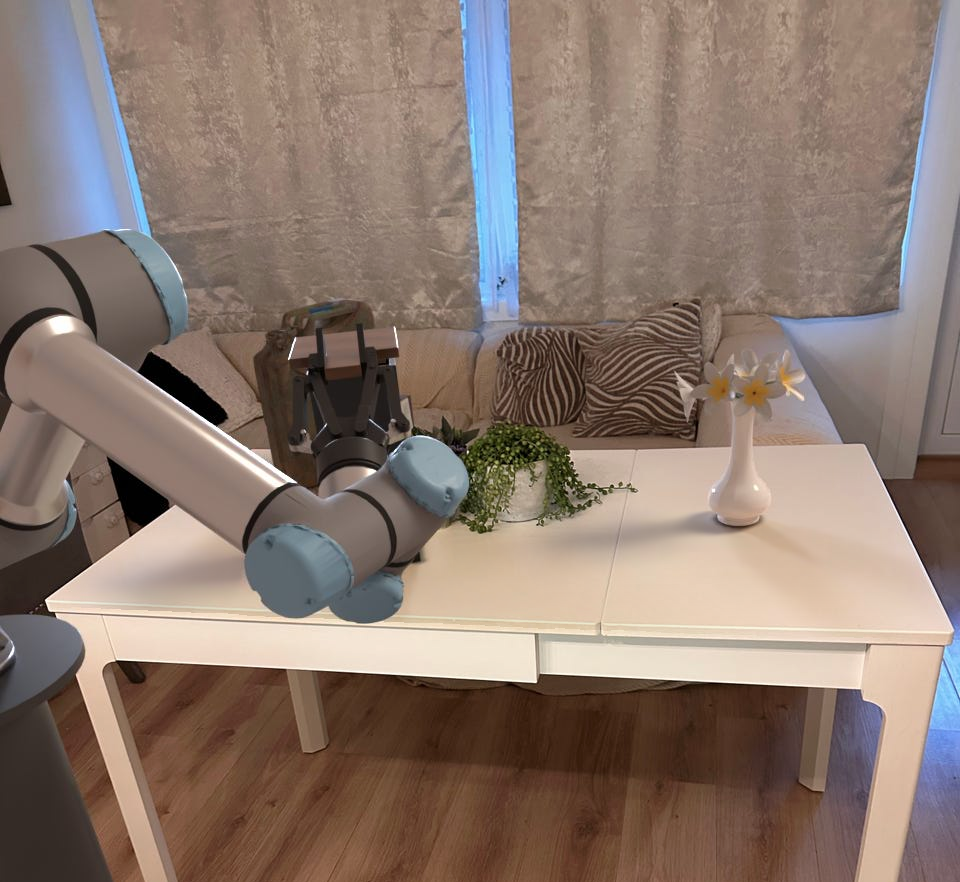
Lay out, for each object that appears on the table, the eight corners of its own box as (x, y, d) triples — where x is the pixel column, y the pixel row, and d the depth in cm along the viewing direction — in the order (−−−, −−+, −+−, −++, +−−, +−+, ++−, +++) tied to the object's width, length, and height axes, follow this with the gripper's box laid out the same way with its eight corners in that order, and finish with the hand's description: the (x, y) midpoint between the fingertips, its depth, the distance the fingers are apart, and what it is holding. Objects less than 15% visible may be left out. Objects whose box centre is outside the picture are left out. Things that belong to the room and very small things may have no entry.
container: (367, 450, 192) (344, 295, 177) (398, 458, 185) (376, 298, 171) (272, 482, 179) (239, 318, 165) (302, 493, 172) (270, 323, 158)
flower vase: (664, 511, 150) (665, 351, 138) (778, 498, 150) (789, 337, 138) (687, 543, 138) (690, 371, 126) (810, 529, 139) (825, 356, 127)
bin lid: (402, 379, 106) (400, 360, 105) (287, 392, 106) (283, 373, 105) (396, 342, 124) (394, 325, 123) (297, 353, 124) (295, 336, 123)
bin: (420, 561, 141) (395, 365, 127) (340, 571, 141) (306, 375, 127) (416, 531, 152) (393, 346, 138) (342, 540, 151) (310, 356, 137)
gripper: (280, 519, 102) (274, 367, 114) (437, 500, 102) (415, 351, 115) (265, 472, 95) (260, 317, 107) (433, 452, 96) (410, 300, 108)
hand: (340, 335), depth 111 cm, fingers closed on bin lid, 4 cm apart
